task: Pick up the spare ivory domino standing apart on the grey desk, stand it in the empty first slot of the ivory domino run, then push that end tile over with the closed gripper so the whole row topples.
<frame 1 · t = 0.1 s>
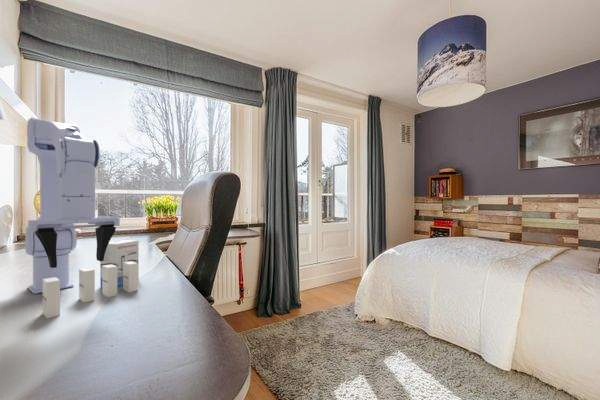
hand: (77, 263, 57), 10 cm above the table, fingers open, 7 cm apart
domino 4: (130, 289, 72), on the table
ink box: (120, 284, 78), on the table
domino 3: (109, 294, 69), on the table
domino 2: (86, 299, 65), on the table
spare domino: (51, 314, 56), on the table
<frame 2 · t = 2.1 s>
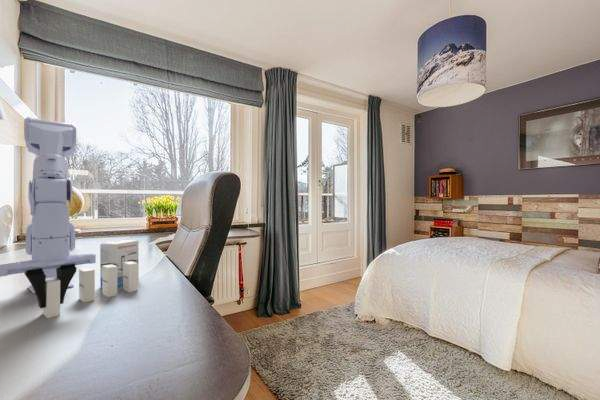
hand: (51, 304, 56), 2 cm above the table, fingers closed on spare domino, 2 cm apart
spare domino: (51, 314, 56), on the table, touching gripper
everything else where it was.
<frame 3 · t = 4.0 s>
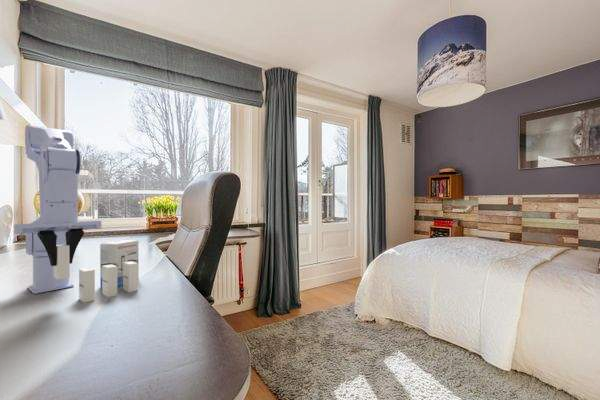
hand: (61, 264, 62), 9 cm above the table, fingers closed on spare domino
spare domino: (61, 277, 62), point 6 cm above the table, touching gripper
everything else where it was.
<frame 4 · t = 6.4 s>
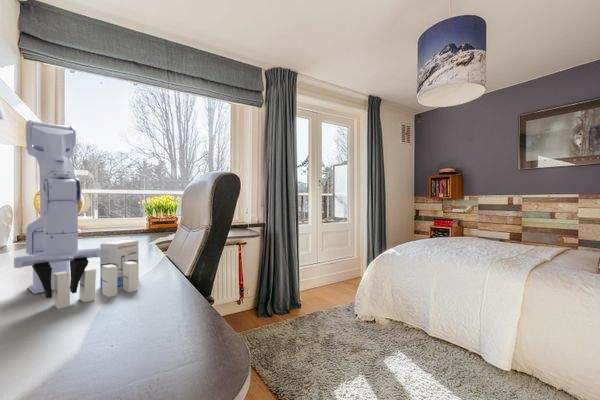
hand: (61, 294, 61), 2 cm above the table, fingers open, 4 cm apart
domino 2: (86, 299, 65), on the table, touching gripper
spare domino: (61, 305, 61), on the table
everything else where it was.
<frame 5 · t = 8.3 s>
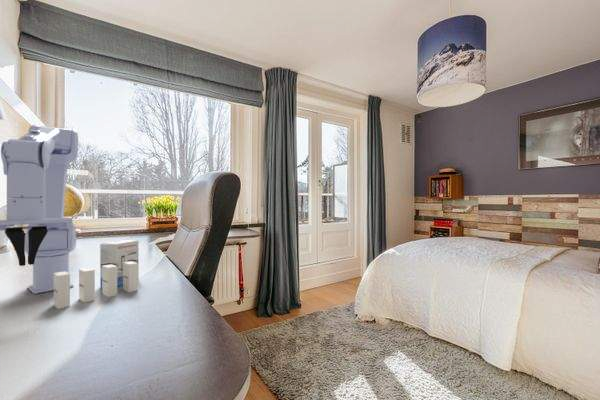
hand: (26, 264, 57), 10 cm above the table, fingers closed
domino 2: (86, 299, 65), on the table
everything else where it was.
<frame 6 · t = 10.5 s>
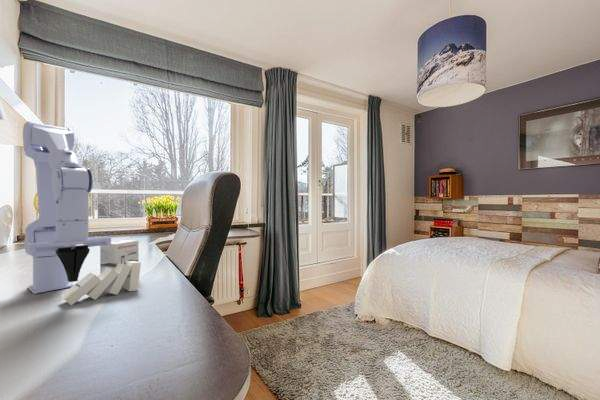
hand: (72, 280, 63), 5 cm above the table, fingers closed
domino 4: (130, 289, 72), on the table, tilted 6°
domino 3: (110, 292, 69), on the table, tilted 27°
domino 2: (89, 296, 65), point 1 cm above the table, tilted 44°, touching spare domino
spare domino: (65, 300, 62), point 1 cm above the table, tilted 53°, touching domino 2
everything else where it was.
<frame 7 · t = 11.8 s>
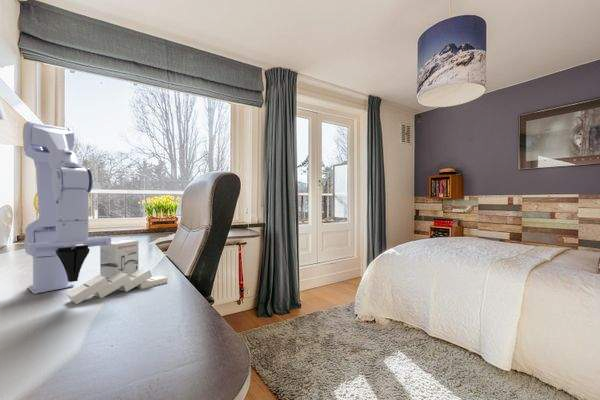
hand: (72, 280, 63), 5 cm above the table, fingers closed
domino 4: (137, 286, 74), on the table, tilted 90°
domino 3: (121, 287, 71), point 1 cm above the table, tilted 70°, touching domino 2
domino 2: (96, 293, 67), point 1 cm above the table, tilted 67°, touching domino 3, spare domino
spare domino: (71, 299, 63), point 1 cm above the table, tilted 65°, touching domino 2
everything else where it was.
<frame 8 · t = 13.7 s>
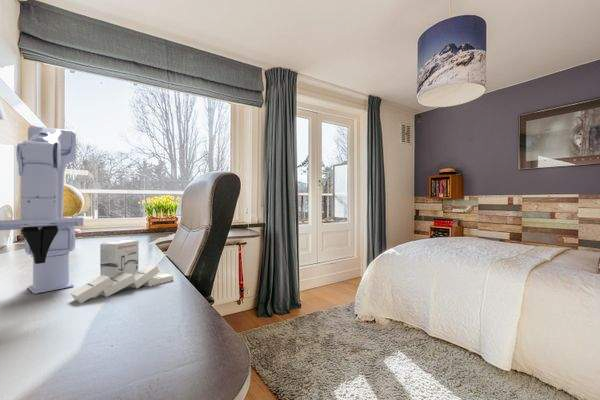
hand: (39, 262, 59), 10 cm above the table, fingers closed
domino 4: (145, 283, 76), on the table, tilted 90°, touching domino 3
domino 3: (131, 284, 73), point 1 cm above the table, tilted 66°, touching domino 2, domino 4
domino 2: (101, 292, 68), point 1 cm above the table, tilted 72°, touching domino 3, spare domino
everything else where it was.
at the end: domino 4 tilted 90°; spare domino tilted 67°; the gripper is holding nothing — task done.
